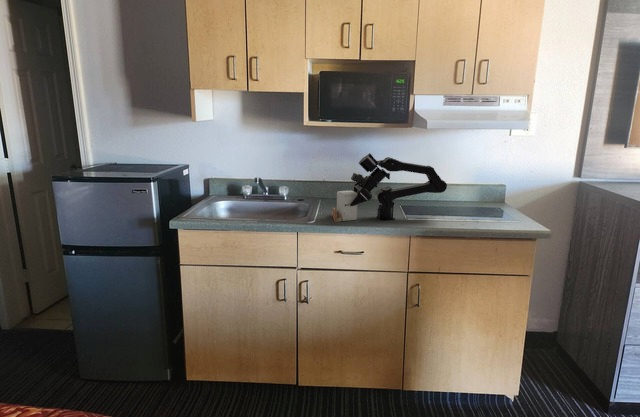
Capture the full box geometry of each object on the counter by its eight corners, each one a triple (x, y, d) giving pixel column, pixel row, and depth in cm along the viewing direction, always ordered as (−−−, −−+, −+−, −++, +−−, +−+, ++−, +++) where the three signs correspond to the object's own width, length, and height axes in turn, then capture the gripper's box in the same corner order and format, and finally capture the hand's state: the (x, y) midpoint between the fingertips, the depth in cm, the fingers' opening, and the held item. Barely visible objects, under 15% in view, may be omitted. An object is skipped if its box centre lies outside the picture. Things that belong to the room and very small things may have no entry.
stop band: (338, 215, 201) (338, 207, 200) (341, 221, 191) (341, 213, 190) (332, 215, 201) (332, 207, 200) (334, 221, 191) (335, 213, 190)
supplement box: (342, 221, 191) (343, 194, 188) (336, 217, 198) (336, 190, 195) (357, 220, 194) (358, 193, 191) (350, 216, 201) (351, 189, 198)
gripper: (358, 164, 200) (335, 187, 202) (365, 170, 182) (339, 195, 184) (374, 180, 202) (351, 203, 204) (382, 187, 184) (357, 212, 186)
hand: (349, 203), depth 195 cm, fingers open, 9 cm apart
